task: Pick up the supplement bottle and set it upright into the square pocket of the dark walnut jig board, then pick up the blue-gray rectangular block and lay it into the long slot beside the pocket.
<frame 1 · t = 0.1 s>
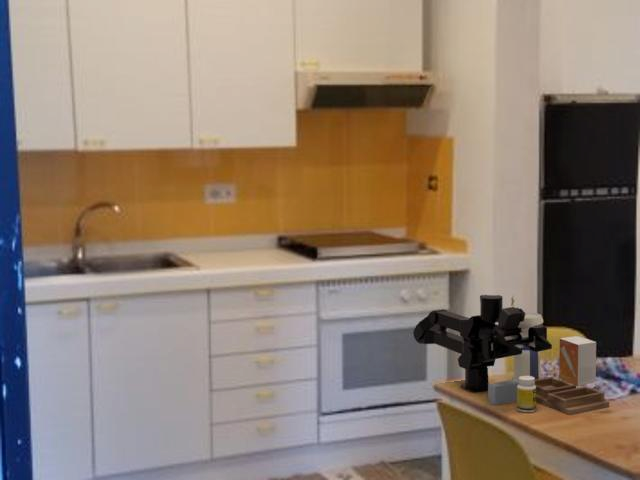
hand: (536, 349, 221), 17 cm above the table, tool horizontal, fingers open, 9 cm apart
small box: (577, 386, 245), on the table
supplement bottle: (526, 410, 226), on the table
water bottle: (527, 383, 249), on the table
blue-gray rectangular block: (505, 401, 234), on the table
jig: (562, 400, 233), on the table
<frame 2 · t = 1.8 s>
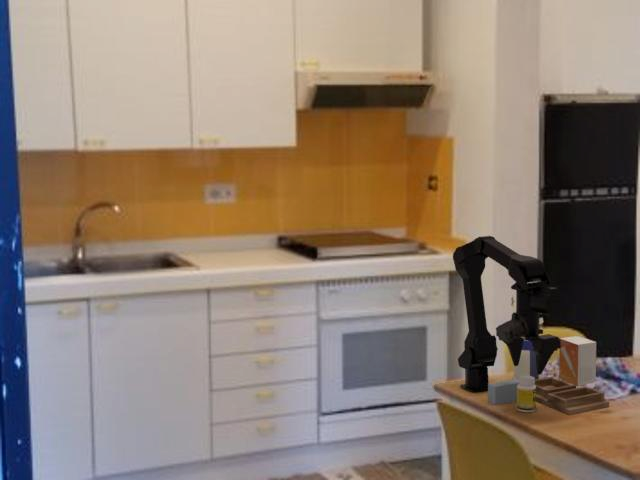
hand: (527, 369, 225), 10 cm above the table, tool pointing down, fingers open, 9 cm apart
nothing on the table moved.
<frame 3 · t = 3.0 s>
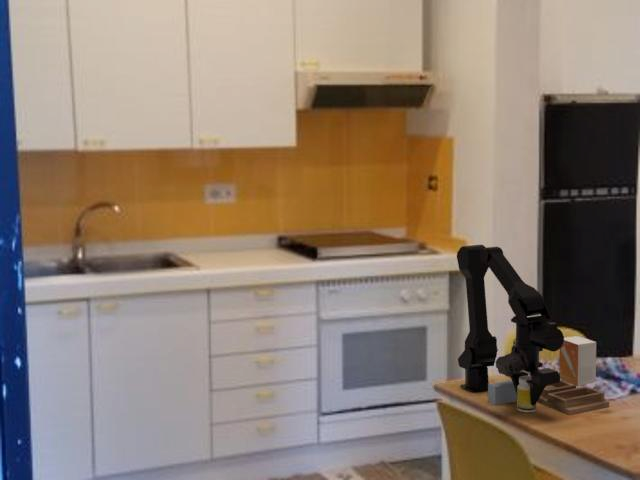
hand: (526, 402, 226), 2 cm above the table, tool pointing down, fingers closed on supplement bottle, 5 cm apart
supplement bottle: (526, 410, 226), on the table, touching gripper
everything else where it was.
when the fingers open (5 cm above the table, at t = 6.8 s): supplement bottle drops 2 cm, resting on jig.
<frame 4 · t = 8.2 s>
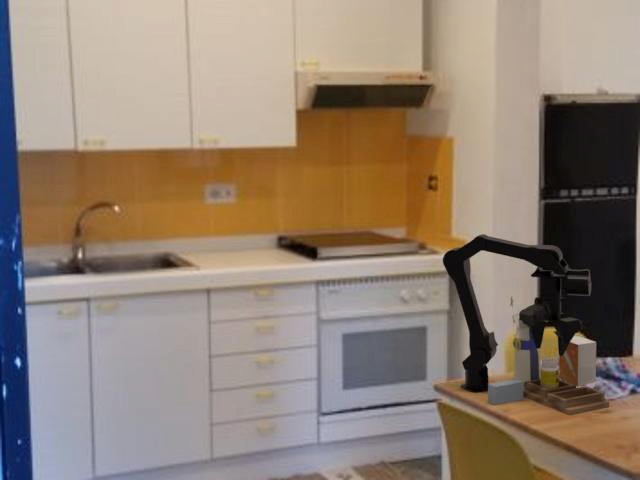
hand: (549, 351, 236), 12 cm above the table, tool pointing down, fingers open, 9 cm apart
supplement bottle: (549, 391, 238), point 1 cm above the table, touching jig
water bottle: (527, 383, 249), on the table, touching gripper
everything else where it was.
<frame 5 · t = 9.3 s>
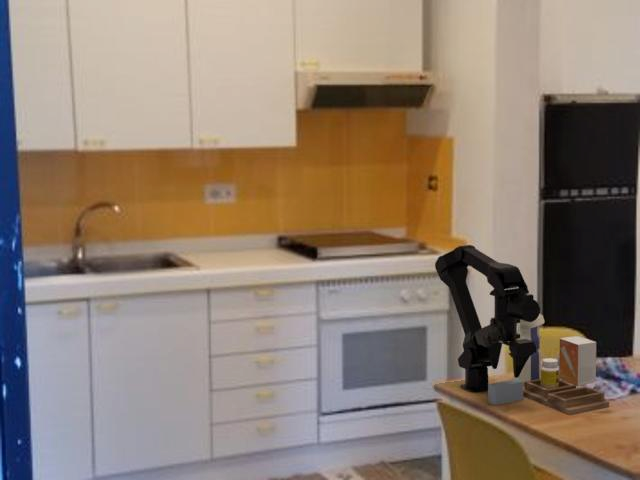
hand: (505, 373, 233), 7 cm above the table, tool pointing down, fingers open, 9 cm apart
water bottle: (527, 383, 249), on the table
everything else where it was.
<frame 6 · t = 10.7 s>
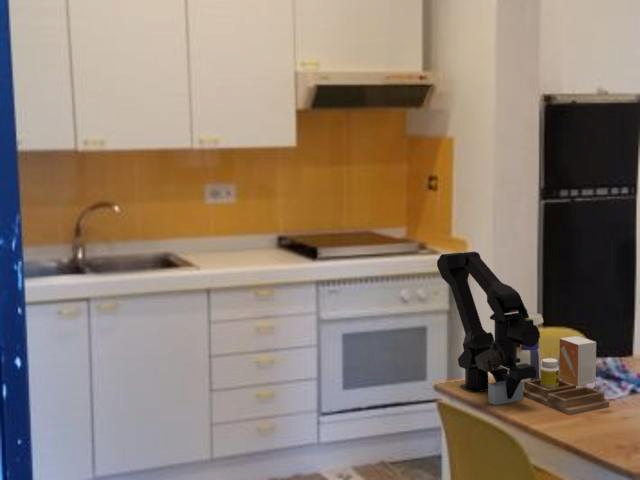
hand: (505, 397, 234), 1 cm above the table, tool pointing down, fingers closed on blue-gray rectangular block, 3 cm apart
blue-gray rectangular block: (505, 400, 234), on the table, touching gripper
everything else where it was.
when the fingers open (4 cm above the table, at t = 14.3 s): blue-gray rectangular block drops 2 cm, resting on jig.
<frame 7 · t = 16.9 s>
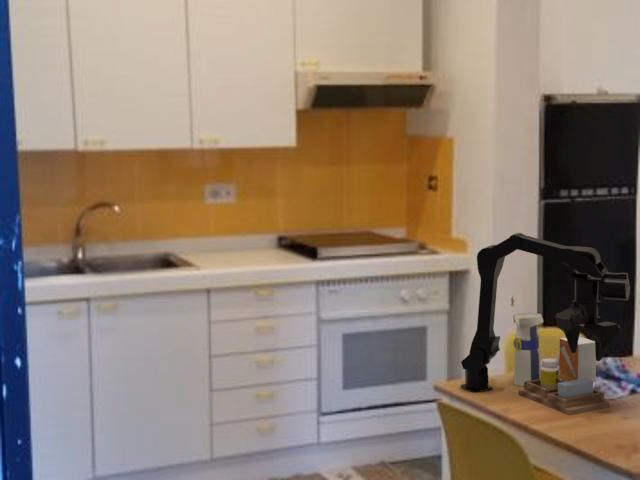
hand: (585, 356, 230), 12 cm above the table, tool pointing down, fingers open, 9 cm apart
blue-gray rectangular block: (575, 400, 228), point 1 cm above the table, touching jig
everything else where it was.
at the end: supplement bottle 0.1 cm from the target spot on the jig, point 1.0 cm above the jig's base; supplement bottle tilted 0°; blue-gray rectangular block 0.1 cm from the target spot on the jig, point 1.2 cm above the jig's base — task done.
